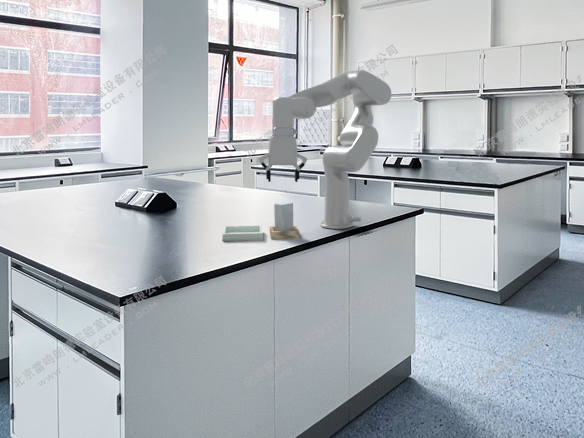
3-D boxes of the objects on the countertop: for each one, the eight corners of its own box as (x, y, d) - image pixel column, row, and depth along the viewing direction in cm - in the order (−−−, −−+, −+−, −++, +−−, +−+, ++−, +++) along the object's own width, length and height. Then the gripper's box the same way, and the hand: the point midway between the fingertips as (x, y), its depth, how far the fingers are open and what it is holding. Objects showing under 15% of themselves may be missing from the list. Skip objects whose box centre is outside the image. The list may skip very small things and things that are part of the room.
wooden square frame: (296, 232, 199) (296, 225, 198) (299, 238, 189) (299, 231, 189) (269, 232, 198) (269, 226, 198) (271, 238, 188) (270, 231, 188)
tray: (261, 231, 200) (261, 225, 199) (262, 240, 186) (262, 233, 186) (224, 232, 198) (223, 226, 198) (222, 241, 185) (222, 234, 184)
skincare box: (284, 233, 197) (284, 201, 195) (293, 234, 195) (293, 202, 192) (274, 236, 193) (273, 203, 190) (283, 237, 190) (282, 204, 188)
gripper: (306, 133, 191) (305, 180, 194) (258, 132, 189) (258, 180, 192) (308, 133, 184) (308, 182, 187) (258, 133, 182) (258, 182, 185)
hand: (282, 181), depth 190 cm, fingers open, 9 cm apart
